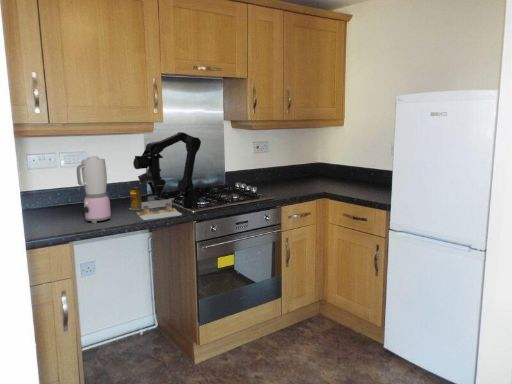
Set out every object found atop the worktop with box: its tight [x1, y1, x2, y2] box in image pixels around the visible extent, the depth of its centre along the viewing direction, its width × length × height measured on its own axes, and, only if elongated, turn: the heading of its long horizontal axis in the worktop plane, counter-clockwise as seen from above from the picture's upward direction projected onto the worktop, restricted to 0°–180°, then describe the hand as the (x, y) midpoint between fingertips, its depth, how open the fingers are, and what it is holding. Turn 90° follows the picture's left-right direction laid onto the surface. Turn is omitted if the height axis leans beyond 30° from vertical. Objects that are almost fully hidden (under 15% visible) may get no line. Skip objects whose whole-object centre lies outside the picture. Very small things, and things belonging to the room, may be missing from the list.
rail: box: [140, 198, 173, 210], centre depth 228 cm, size 16×3×3 cm, turn 118°
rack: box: [136, 204, 178, 217], centre depth 228 cm, size 20×6×5 cm, turn 118°
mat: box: [140, 210, 183, 221], centre depth 222 cm, size 20×8×1 cm, turn 118°
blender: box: [76, 155, 112, 224], centre depth 211 cm, size 16×12×32 cm
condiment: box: [128, 186, 143, 211], centre depth 240 cm, size 7×8×12 cm
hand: (156, 196), depth 227 cm, fingers open, 9 cm apart
